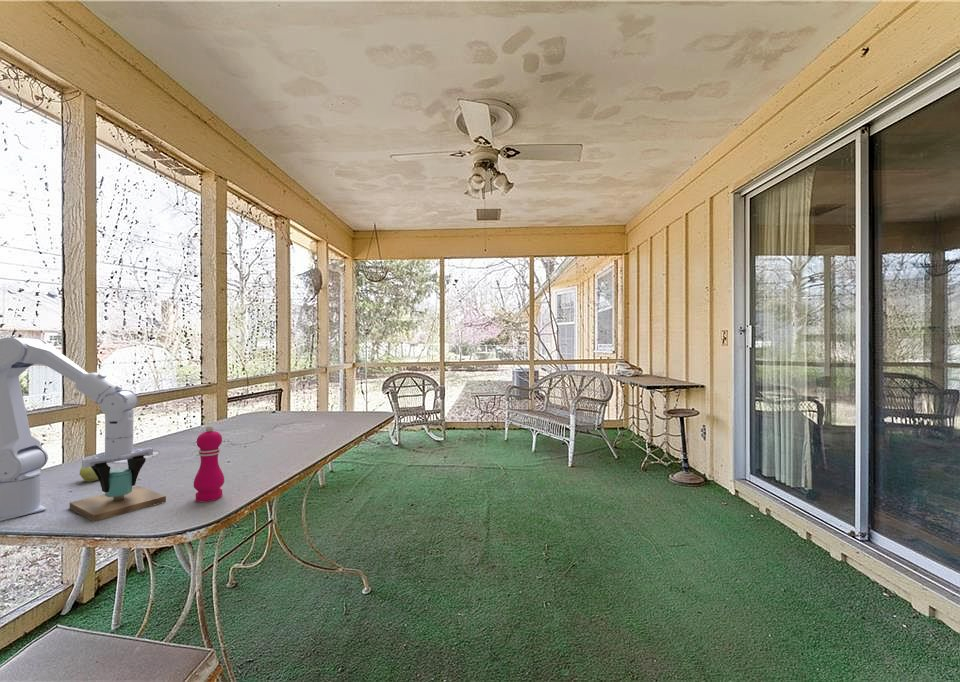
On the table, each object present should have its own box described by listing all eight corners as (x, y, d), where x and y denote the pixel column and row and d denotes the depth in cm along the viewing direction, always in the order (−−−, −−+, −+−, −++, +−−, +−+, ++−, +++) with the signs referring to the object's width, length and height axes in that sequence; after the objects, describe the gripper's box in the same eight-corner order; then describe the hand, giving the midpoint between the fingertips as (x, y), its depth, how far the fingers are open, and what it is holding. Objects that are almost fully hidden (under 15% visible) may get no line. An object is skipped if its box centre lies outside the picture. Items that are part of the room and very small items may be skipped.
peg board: (94, 521, 102) (94, 498, 102) (69, 508, 110) (69, 487, 110) (165, 501, 115) (166, 481, 115) (139, 491, 123) (139, 472, 123)
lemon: (92, 461, 130) (112, 455, 137) (71, 464, 130) (91, 458, 137) (95, 482, 130) (114, 475, 137) (74, 485, 130) (94, 478, 137)
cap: (110, 498, 109) (110, 475, 109) (102, 494, 111) (102, 472, 112) (134, 492, 113) (134, 470, 113) (126, 489, 116) (126, 467, 116)
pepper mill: (218, 491, 123) (219, 422, 123) (228, 497, 118) (229, 425, 118) (189, 498, 117) (190, 425, 117) (198, 504, 112) (199, 429, 113)
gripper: (89, 444, 104) (89, 499, 104) (158, 433, 117) (157, 483, 117) (78, 440, 108) (78, 494, 108) (146, 430, 120) (146, 478, 120)
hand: (118, 488), depth 112 cm, fingers closed on cap, 5 cm apart
